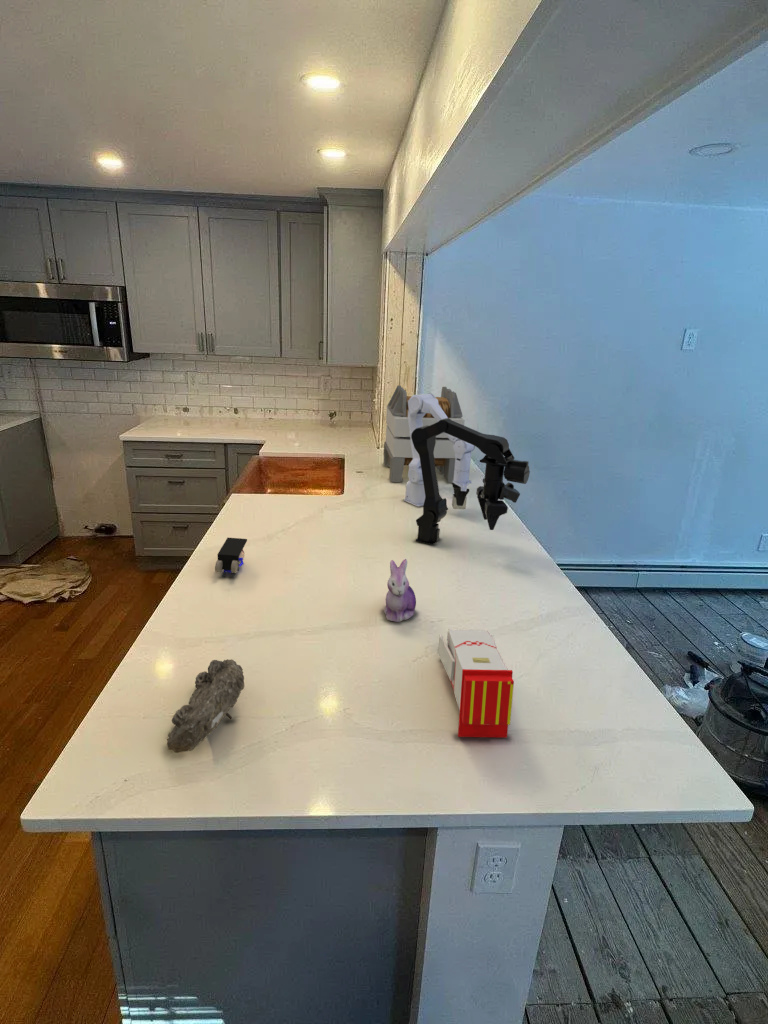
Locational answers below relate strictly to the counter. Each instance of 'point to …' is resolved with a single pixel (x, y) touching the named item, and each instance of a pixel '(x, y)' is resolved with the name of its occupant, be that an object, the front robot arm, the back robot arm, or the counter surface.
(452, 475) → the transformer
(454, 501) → the block
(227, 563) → the black wheeled box
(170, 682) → the counter surface
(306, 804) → the counter surface
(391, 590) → the figurine
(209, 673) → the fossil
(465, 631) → the toy
